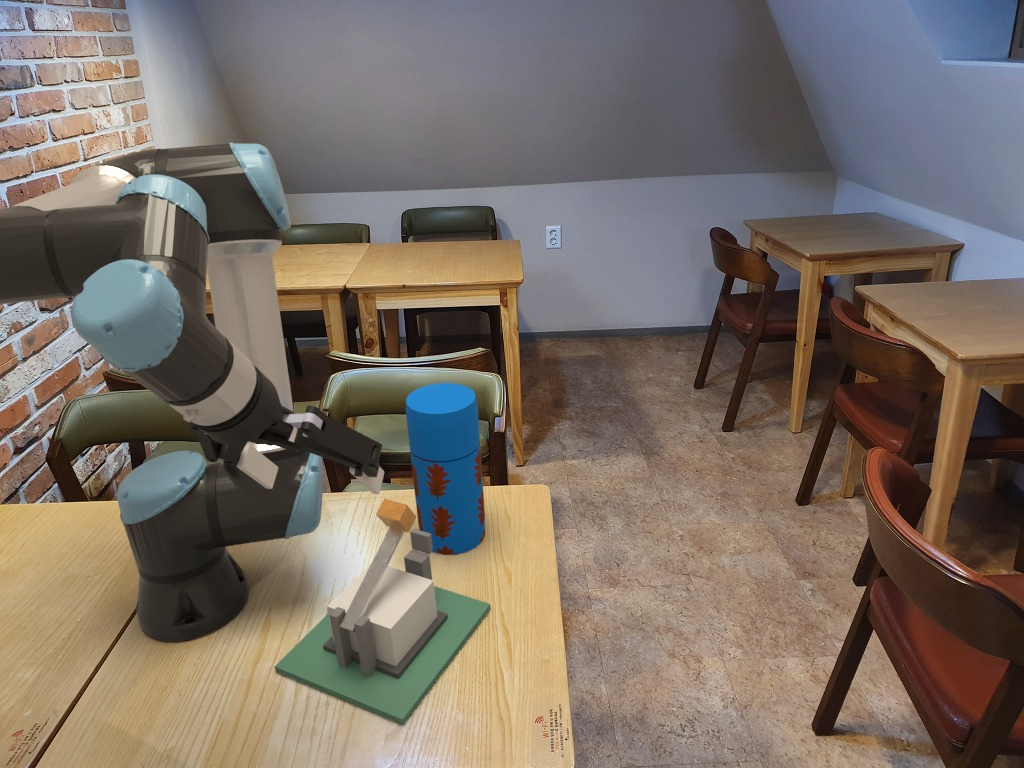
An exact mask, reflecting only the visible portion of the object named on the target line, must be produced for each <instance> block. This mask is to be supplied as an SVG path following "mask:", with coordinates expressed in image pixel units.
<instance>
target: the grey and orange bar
mask: <svg viewBox="0 0 1024 768" xmlns="http://www.w3.org/2000/svg"><path fill="white" fill-rule="evenodd" d="M375 515H376V517H378V519H380V521H381V522H382V523H383V524H384V525H385V526H386V527H387V528H388V529H387V532H386V534H385V536H384V538H383V540H382V541H381V543H380V546H379V547H378V550H377V552H376V554H375V555H374V557H373V560H372V562H371V563H370V564H371V565H370V564H369V565H370V567H369V569H368V571H367V573H366V575H365V577H364V579H363V581H362V583H361V585H360V587H359V589H358V591H357V593H356V595H355V597H354V599H353V601H352V603H351V605H350V607H349V609H348V611H347V613H346V615H345V617H344V619H343V621H342V623H341V625H340V627H341V628H343V629H346V630H349V631H351V632H354V633H355V628H354V623H355V622H356V621H357V620H358V619H359V618H360V617H361V616H363V615H364V613H365V611H366V609H367V607H368V604H369V602H370V600H371V598H372V596H373V594H374V592H375V590H376V588H377V586H378V584H379V582H380V580H381V578H382V576H383V574H384V572H385V570H386V568H387V566H388V565H389V564H390V562H391V559H392V558H393V556H394V554H395V551H396V550H397V548H398V545H399V544H400V542H401V539H402V537H403V536H404V533H409V534H410V531H411V530H412V527H413V525H414V522H415V521H416V519H417V516H416V515H417V514H415V513H414V512H413V510H412V509H411V507H410V506H409V505H408V504H406V503H402V502H398V501H396V500H393V499H392V500H391V499H387V498H384V499H383V501H382V502H381V503H380V507H379V508H378V510H377V512H376V514H375Z"/></svg>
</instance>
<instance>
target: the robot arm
mask: <svg viewBox="0 0 1024 768" xmlns="http://www.w3.org/2000/svg"><path fill="white" fill-rule="evenodd" d="M290 218H291V217H290V212H289V207H288V203H287V199H286V195H285V191H284V188H283V185H282V181H281V178H280V175H279V172H278V169H277V166H276V163H275V161H274V157H273V155H272V153H271V152H270V151H269V149H268V148H267V147H266V146H264V145H262V144H259V143H234V142H229V143H220V144H208V145H196V146H183V147H170V148H151V149H143V150H139V151H134V152H131V153H127V154H124V155H121V156H119V157H115V158H112V159H110V160H107V161H104V162H101V163H99V164H96V165H93V166H90V167H87V168H84V169H83V170H81V171H80V172H78V173H77V174H76V175H75V176H74V177H73V178H72V180H70V183H69V185H68V184H67V185H65V186H63V187H60V188H56V189H54V190H52V191H49V192H45V193H43V194H40V195H38V196H35V197H33V198H30V199H27V200H25V201H22V202H19V203H15V204H14V205H11V206H8V207H4V208H0V305H3V304H6V305H7V304H14V303H17V304H18V303H25V302H34V301H35V302H36V301H42V300H52V299H53V300H54V299H62V298H64V299H65V298H73V302H72V305H71V315H70V316H71V321H72V324H73V328H74V329H75V331H76V333H77V334H78V335H79V337H81V339H83V341H85V342H86V343H87V344H89V345H90V346H91V348H94V350H96V351H97V353H99V355H100V356H101V358H102V359H103V360H104V361H105V362H106V363H108V364H110V365H111V366H113V367H115V368H116V369H119V370H121V371H122V372H123V373H125V374H126V375H127V376H129V377H130V378H131V379H133V380H134V381H135V382H137V383H138V384H140V385H141V386H143V387H144V388H145V389H147V390H148V391H150V392H151V393H152V394H154V395H155V396H156V397H157V398H158V399H159V400H162V402H165V403H166V404H167V405H169V406H170V407H171V408H172V409H174V410H175V411H176V412H178V413H179V414H181V415H182V416H183V417H182V419H183V420H184V421H185V422H188V423H189V425H188V429H189V430H190V431H192V432H193V433H194V434H195V435H196V436H197V439H198V441H199V444H200V447H201V448H202V452H203V455H204V456H203V455H202V454H200V452H198V451H197V452H196V451H191V450H177V451H173V452H168V453H166V454H165V453H164V454H161V455H159V456H156V457H154V458H151V459H149V460H147V461H145V462H143V463H142V464H140V465H139V466H137V467H136V468H134V469H132V470H131V471H130V472H129V473H128V474H127V475H126V476H125V477H124V478H123V479H122V481H121V482H120V484H119V486H118V487H117V491H116V492H117V493H116V498H117V503H118V508H119V511H120V513H119V518H120V521H121V523H122V524H123V527H124V530H125V533H126V536H127V540H128V543H129V546H130V549H131V551H132V555H133V558H134V561H135V565H136V567H137V570H138V574H139V582H138V591H137V592H138V593H137V594H138V595H137V596H138V597H137V603H136V615H137V618H138V621H139V625H140V628H141V629H143V630H142V631H143V632H144V633H145V634H146V635H147V636H149V637H150V638H152V639H155V640H158V641H162V642H184V641H190V640H195V639H197V638H201V637H204V636H207V635H209V634H212V633H214V632H216V631H218V630H219V629H221V628H223V627H225V626H226V625H227V624H229V623H230V622H232V621H233V620H234V619H235V618H236V617H237V616H238V615H239V614H240V613H241V612H242V610H243V609H244V608H245V606H246V604H247V602H248V600H249V596H250V588H249V584H248V579H247V575H246V574H245V572H244V570H243V569H242V568H241V566H240V565H239V564H238V562H237V561H236V559H234V557H233V556H232V554H231V553H230V551H229V550H228V548H227V547H231V546H239V545H247V544H254V543H260V542H265V541H266V542H267V541H273V540H280V539H284V540H288V539H290V538H293V537H296V536H298V537H299V536H302V535H307V534H311V533H313V532H315V531H316V529H318V527H319V525H320V524H321V519H322V511H323V491H324V490H323V488H324V487H323V484H324V483H323V481H324V480H323V479H324V477H323V476H324V475H323V458H324V459H326V460H330V461H332V462H335V463H338V464H340V465H343V466H345V467H348V468H349V470H348V472H349V473H350V474H351V475H352V476H354V478H356V480H358V481H359V482H360V483H361V484H362V485H363V486H364V487H365V488H366V489H367V490H368V491H370V492H371V494H373V495H380V494H381V490H382V489H381V488H382V484H383V480H384V475H385V471H384V470H383V468H382V467H381V466H380V465H381V464H380V463H379V461H380V456H381V452H382V448H383V444H382V443H381V442H378V441H377V440H374V438H373V439H372V438H371V437H368V436H367V435H365V434H363V433H361V432H359V431H357V430H355V429H353V428H351V427H350V426H347V425H346V424H344V423H342V422H340V421H339V420H336V419H334V418H332V417H330V416H328V415H327V414H326V413H324V412H323V411H322V410H321V409H320V408H319V407H317V406H315V405H307V406H306V407H305V408H306V409H305V411H304V413H296V412H294V406H293V398H292V390H291V383H290V376H289V371H288V362H287V355H286V347H285V346H286V345H285V341H284V333H283V326H282V318H281V311H280V305H279V304H280V303H279V296H278V290H277V289H278V288H277V281H276V274H275V267H274V260H273V259H274V255H275V253H276V252H277V251H278V250H279V249H280V248H281V246H282V244H283V239H282V234H281V231H283V232H285V231H287V230H289V229H291V226H292V221H291V219H290ZM207 276H208V277H207ZM207 278H208V284H209V290H210V291H209V292H210V299H211V304H212V312H213V318H214V324H213V323H212V322H211V321H210V320H209V319H208V317H207V312H206V311H207ZM204 457H205V458H204ZM219 460H223V461H222V462H218V461H219ZM207 461H208V462H209V463H207Z"/></svg>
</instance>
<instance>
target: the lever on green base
mask: <svg viewBox="0 0 1024 768" xmlns="http://www.w3.org/2000/svg"><path fill="white" fill-rule="evenodd" d="M409 534H410V541H411V548H412V549H411V550H410V551H409V552H408V553H407V554H406V555H405V556H404V557H403V560H404V569H405V571H404V570H401V569H397V568H395V567H393V566H387V568H386V570H385V572H384V574H383V576H382V578H381V580H380V582H379V584H378V586H377V588H376V590H375V592H374V594H373V596H372V598H371V600H370V602H369V604H368V607H367V609H366V611H365V613H364V615H363V616H361V617H360V618H359V619H358V620H357V621H356V622H355V623H354V628H355V633H354V632H351V631H349V630H346V629H343V628H341V627H340V625H341V623H342V621H343V619H344V617H345V615H346V613H347V611H348V609H349V607H350V605H351V603H352V601H353V599H354V597H355V595H356V593H357V591H358V589H359V587H360V585H361V583H362V581H363V579H364V577H365V575H366V573H367V571H368V569H369V567H370V565H371V563H370V564H368V566H367V567H366V568H364V570H362V571H361V573H359V574H358V576H356V577H355V578H354V579H353V580H352V581H351V582H350V583H349V585H347V586H346V587H345V588H344V589H343V590H342V591H341V592H340V593H339V594H338V595H337V596H336V597H335V598H334V599H333V600H332V601H331V602H329V604H327V606H326V609H327V614H326V615H325V616H324V617H322V619H321V620H320V621H319V622H318V623H317V624H316V625H314V627H313V628H312V629H310V631H309V632H308V633H306V634H305V636H304V637H303V638H301V640H299V642H298V643H297V644H295V646H293V648H292V649H291V650H289V652H287V653H286V654H285V656H283V658H282V659H281V660H279V662H277V663H276V665H274V669H275V673H277V674H280V675H282V676H284V677H287V678H289V679H291V680H294V681H296V682H298V683H301V684H304V685H305V686H308V687H311V688H313V689H315V690H318V691H320V692H323V693H324V694H327V695H330V696H332V697H334V698H337V699H339V700H342V701H344V702H345V703H346V702H347V703H348V704H351V705H353V706H356V707H358V708H360V709H363V710H366V711H368V712H370V713H372V714H375V715H377V716H380V717H382V718H384V719H387V720H389V721H392V722H395V724H398V725H400V726H401V725H402V726H405V724H406V723H407V721H408V720H409V719H410V717H412V715H413V713H414V712H415V711H416V709H417V708H418V707H419V705H420V704H421V702H423V700H424V699H425V697H426V696H427V695H428V693H429V692H430V690H432V688H433V687H434V685H435V684H436V683H437V682H438V680H439V679H440V677H441V676H442V675H443V673H444V672H445V671H446V669H447V668H448V667H449V665H450V664H451V663H452V662H453V660H454V659H455V658H456V656H457V655H458V654H459V652H460V651H461V650H462V648H463V647H464V646H465V644H466V643H467V641H468V640H469V639H470V638H471V637H472V635H473V634H474V633H475V631H476V630H477V628H478V627H479V626H480V625H481V623H482V621H483V620H484V619H485V617H486V616H487V615H488V614H489V612H490V611H491V609H492V607H491V603H489V602H486V601H482V600H479V599H475V598H472V597H470V596H467V595H464V594H460V593H458V592H454V591H450V590H448V589H444V588H442V587H438V586H435V581H434V580H433V576H432V573H433V572H432V565H431V556H430V555H431V554H432V553H434V552H433V546H432V537H431V534H430V533H427V532H423V531H420V530H419V529H416V528H413V529H412V528H411V529H410V531H409Z"/></svg>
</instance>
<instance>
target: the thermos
mask: <svg viewBox="0 0 1024 768" xmlns="http://www.w3.org/2000/svg"><path fill="white" fill-rule="evenodd" d="M475 393H476V392H475V391H474V389H472V388H470V386H466V385H463V384H460V383H452V382H444V383H441V382H439V383H435V384H434V383H433V384H427V385H425V386H422V387H419V388H416V389H415V390H414V391H412V392H410V393H409V394H408V396H407V397H406V398H405V416H406V425H407V433H408V442H409V443H408V445H409V452H410V461H411V472H412V480H413V488H414V497H415V499H414V500H415V504H416V515H417V516H416V518H417V523H418V528H419V529H418V530H420V531H423V532H427V533H430V534H431V537H432V546H433V552H432V553H434V554H438V555H443V556H444V555H445V556H449V555H453V556H455V555H460V554H464V553H468V552H469V551H472V550H473V549H476V548H477V547H478V546H479V545H480V544H481V543H482V542H483V540H484V538H485V534H486V511H485V496H484V494H485V493H484V481H483V466H482V465H483V464H482V451H481V438H480V423H479V421H480V419H479V408H478V407H479V406H478V403H477V398H476V397H477V396H476V394H475Z"/></svg>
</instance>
